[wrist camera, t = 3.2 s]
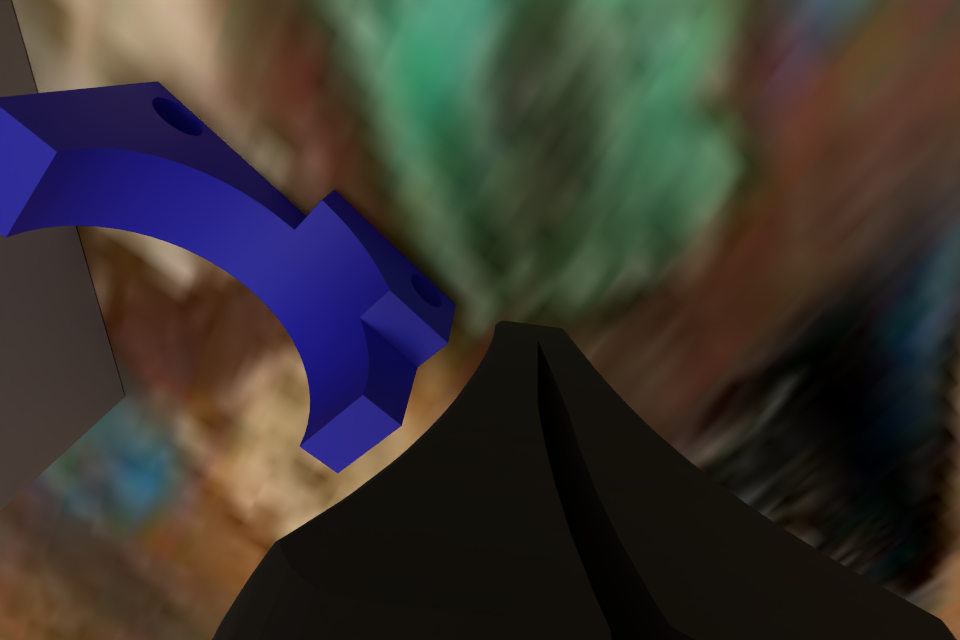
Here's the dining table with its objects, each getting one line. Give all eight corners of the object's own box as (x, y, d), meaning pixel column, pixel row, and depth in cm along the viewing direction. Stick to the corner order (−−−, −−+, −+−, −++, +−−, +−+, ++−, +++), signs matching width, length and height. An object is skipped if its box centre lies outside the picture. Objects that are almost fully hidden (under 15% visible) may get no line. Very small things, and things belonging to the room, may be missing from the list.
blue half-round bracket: (455, 302, 19) (437, 399, 14) (380, 365, 21) (337, 473, 16) (185, 44, 15) (16, 43, 10) (117, 147, 17) (-59, 192, 12)
